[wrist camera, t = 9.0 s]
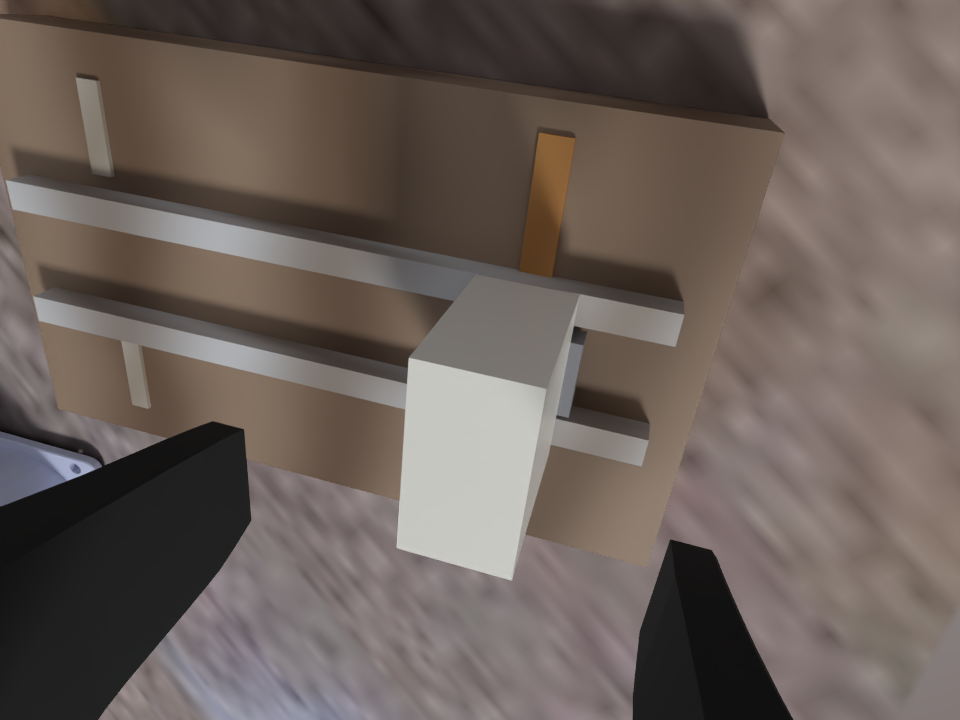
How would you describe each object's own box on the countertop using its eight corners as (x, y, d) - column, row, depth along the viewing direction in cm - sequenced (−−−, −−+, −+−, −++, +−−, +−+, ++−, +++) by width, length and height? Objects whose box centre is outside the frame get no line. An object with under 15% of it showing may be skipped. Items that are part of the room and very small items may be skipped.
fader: (456, 414, 18) (383, 544, 13) (472, 261, 16) (392, 353, 11) (564, 440, 17) (526, 584, 13) (596, 285, 15) (564, 393, 11)
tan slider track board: (110, 376, 24) (38, 420, 22) (42, 15, 19) (-67, 12, 16) (649, 513, 21) (645, 587, 18) (769, 119, 15) (791, 138, 12)
